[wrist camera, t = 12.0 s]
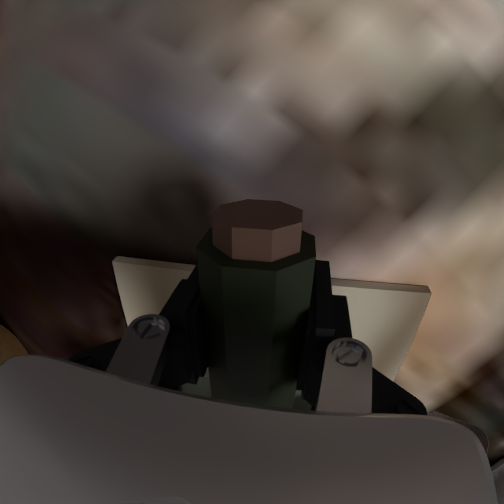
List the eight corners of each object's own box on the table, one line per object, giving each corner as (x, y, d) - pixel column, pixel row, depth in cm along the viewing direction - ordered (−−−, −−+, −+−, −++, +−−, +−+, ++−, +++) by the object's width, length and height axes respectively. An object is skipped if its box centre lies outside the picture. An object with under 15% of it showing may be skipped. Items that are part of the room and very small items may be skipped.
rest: (428, 286, 13) (482, 411, 7) (341, 463, 23) (338, 534, 16) (117, 255, 16) (28, 350, 9) (172, 440, 25) (147, 505, 18)
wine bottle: (265, 565, 16) (385, 383, 3) (190, 526, 20) (45, 233, 7) (307, 504, 23) (422, 205, 10) (237, 472, 27) (224, 169, 13)
